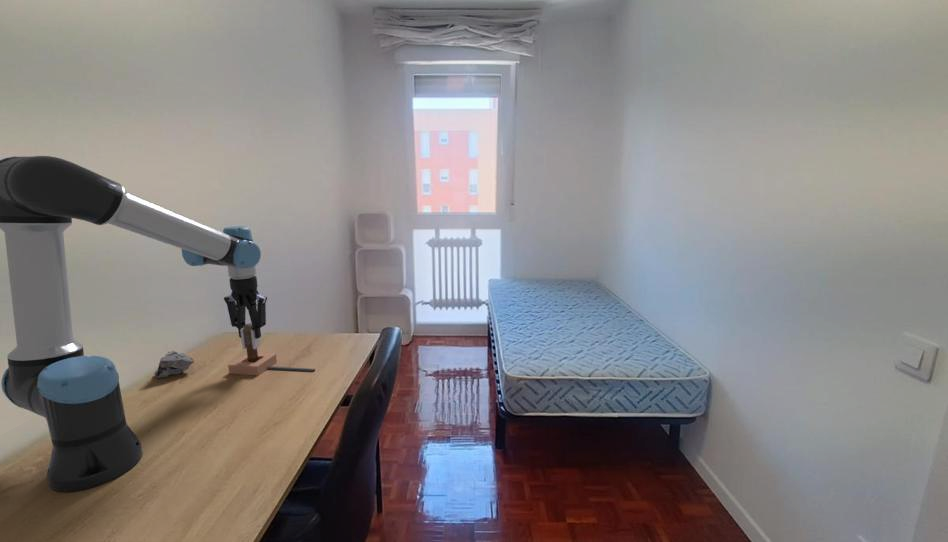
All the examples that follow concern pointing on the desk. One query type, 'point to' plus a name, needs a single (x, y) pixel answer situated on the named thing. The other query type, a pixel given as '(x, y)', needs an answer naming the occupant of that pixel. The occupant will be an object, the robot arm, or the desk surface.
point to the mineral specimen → (173, 364)
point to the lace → (290, 368)
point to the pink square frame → (252, 364)
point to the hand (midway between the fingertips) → (251, 347)
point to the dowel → (250, 344)
